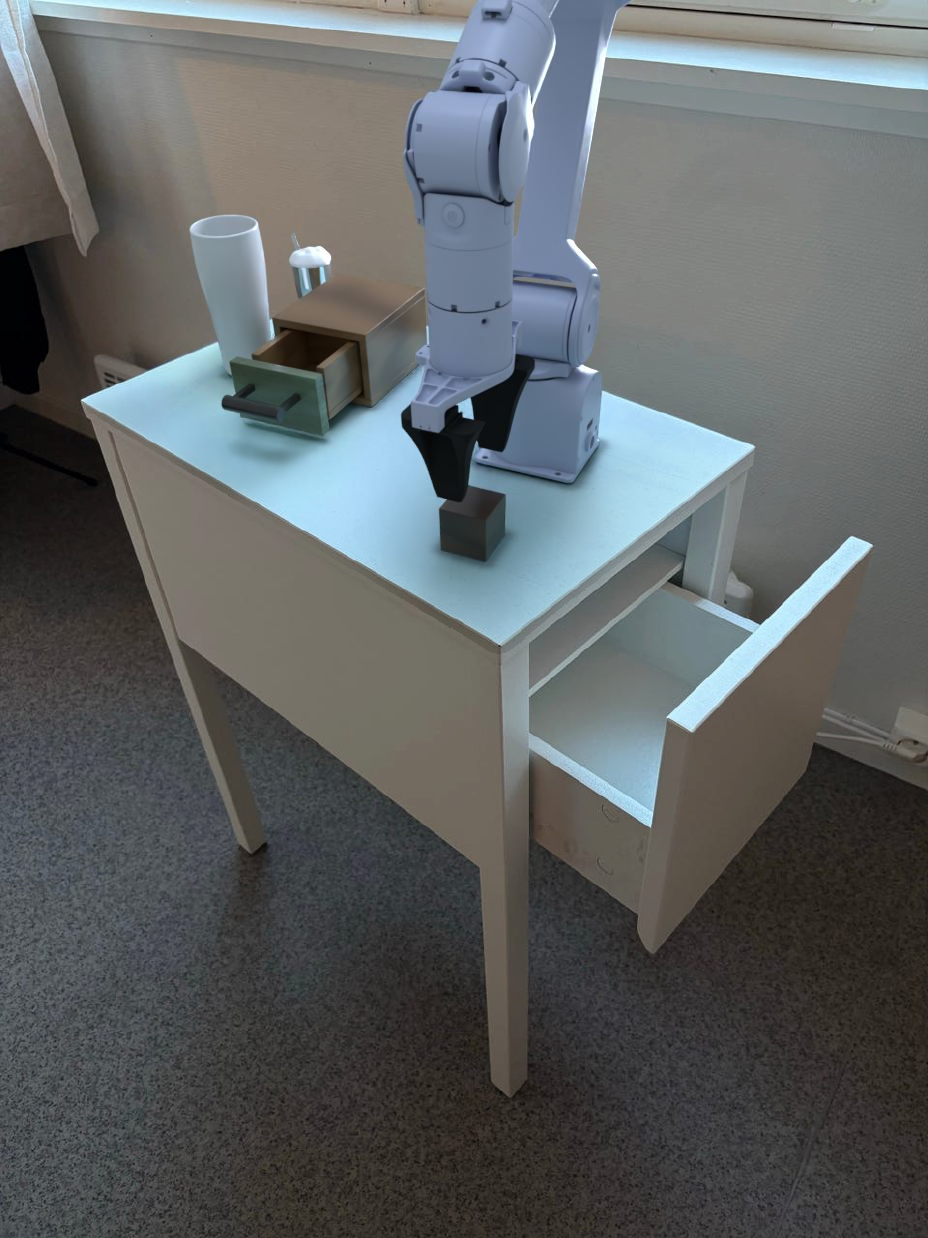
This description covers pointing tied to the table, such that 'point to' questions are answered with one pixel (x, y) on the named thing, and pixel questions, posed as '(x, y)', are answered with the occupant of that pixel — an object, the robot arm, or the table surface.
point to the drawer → (296, 381)
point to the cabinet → (365, 326)
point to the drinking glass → (233, 282)
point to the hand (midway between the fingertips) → (472, 471)
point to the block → (473, 523)
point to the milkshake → (309, 267)
